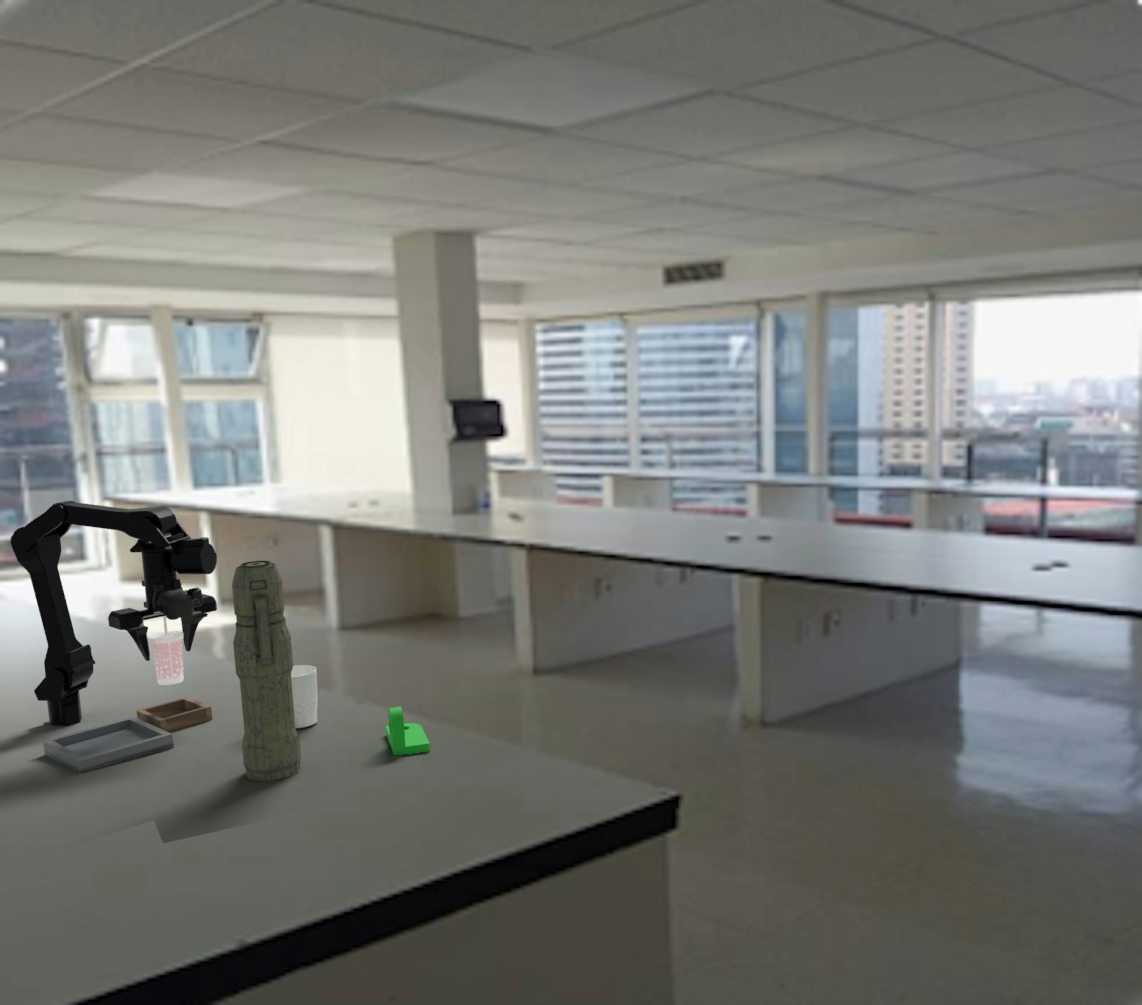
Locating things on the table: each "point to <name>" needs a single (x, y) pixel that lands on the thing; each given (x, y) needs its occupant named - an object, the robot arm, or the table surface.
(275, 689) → the thermos
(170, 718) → the square frame
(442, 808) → the table surface
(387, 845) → the table surface
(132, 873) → the table surface
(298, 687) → the white cup
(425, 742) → the mechanical part
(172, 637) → the beverage cup
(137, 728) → the tray
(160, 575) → the robot arm
